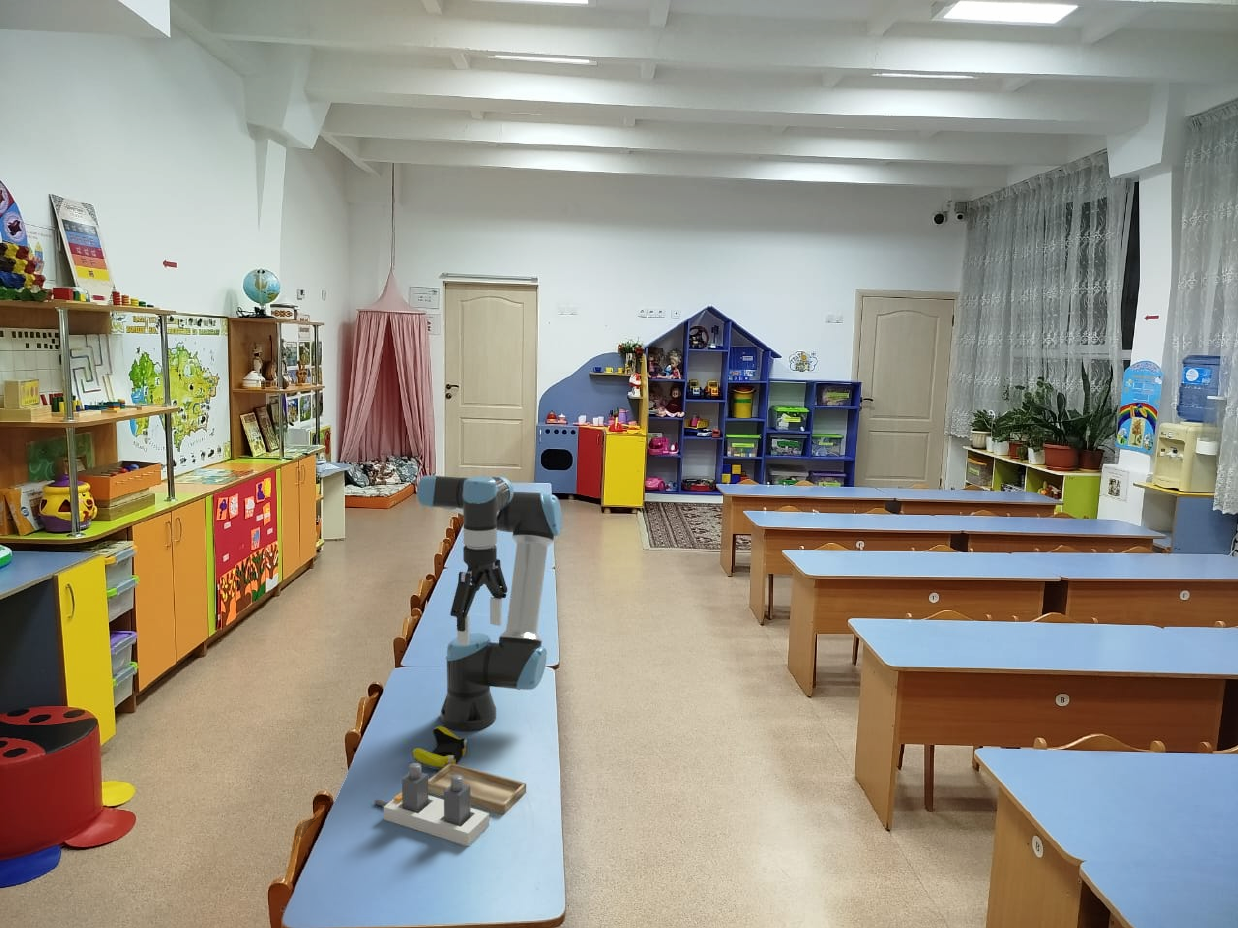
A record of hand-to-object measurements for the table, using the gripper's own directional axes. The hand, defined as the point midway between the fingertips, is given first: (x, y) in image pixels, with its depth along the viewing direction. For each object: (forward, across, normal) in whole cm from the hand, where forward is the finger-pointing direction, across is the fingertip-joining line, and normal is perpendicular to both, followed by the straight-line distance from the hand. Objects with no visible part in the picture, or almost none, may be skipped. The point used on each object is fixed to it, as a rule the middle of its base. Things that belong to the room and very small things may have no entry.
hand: (480, 633), depth 193 cm
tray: (+37, +5, +2) cm, 37 cm away
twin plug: (+36, +19, -4) cm, 41 cm away
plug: (+36, +19, +6) cm, 41 cm away
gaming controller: (+37, -4, -14) cm, 40 cm away
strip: (+37, +19, -2) cm, 41 cm away
